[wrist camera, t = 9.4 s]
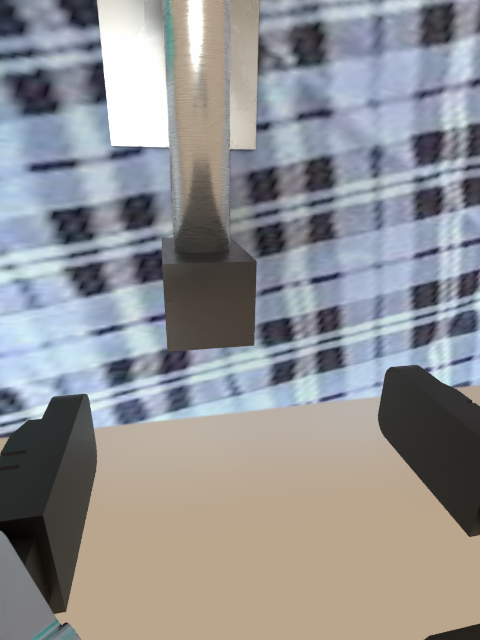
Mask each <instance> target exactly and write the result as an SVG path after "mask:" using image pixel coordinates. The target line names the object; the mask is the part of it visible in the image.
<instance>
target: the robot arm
mask: <svg viewBox="0 0 480 640" xmlns="http://www.w3.org/2000/svg"><path fill="white" fill-rule="evenodd" d="M378 421H379V426H380V429H381V431H382V433H383V435H384V437H385V438H386V439H387V440H388V441H389V443H390V444H391V445H392V446H393V447H394V448H395V449H396V451H397V452H398V453H399V454H400V456H401V457H402V458H403V459H404V460H405V462H406V463H407V464H408V465H409V466H410V467H411V469H412V470H413V471H414V472H415V473H416V474H417V475H418V477H419V478H420V479H421V480H422V482H423V483H424V484H425V485H426V486H427V487H428V489H429V490H430V491H431V492H432V493H433V495H434V496H435V497H436V498H437V499H438V500H439V502H441V504H442V505H443V506H444V507H445V509H446V510H447V511H448V512H449V513H450V515H451V516H452V517H453V518H454V519H455V520H456V522H457V523H458V524H459V525H460V526H461V528H462V529H463V530H464V531H465V532H466V533H467V535H468V536H469V537H472V536H477V535H480V406H478V405H477V404H476V403H472V400H470V399H469V398H468V397H466V396H465V395H464V394H462V393H461V392H459V391H458V390H457V389H454V388H452V387H450V386H448V385H446V384H444V383H442V382H440V381H439V380H438V379H436V378H435V377H434V376H432V375H431V374H430V373H428V372H427V371H425V370H424V369H423V368H421V367H420V366H418V365H409V366H398V367H390V368H389V369H388V370H387V371H386V374H385V378H384V384H383V390H382V395H381V401H380V407H379V413H378ZM0 454H1V455H0V640H81V638H80V637H79V636H78V634H77V633H76V631H75V630H74V629H73V627H72V626H71V625H70V624H68V623H64V624H63V625H61V624H60V623H59V621H58V620H57V618H56V617H55V615H54V614H56V613H61V612H66V609H67V604H68V600H69V595H70V590H71V586H72V581H73V576H74V571H75V567H76V562H77V558H78V552H79V548H80V543H81V539H82V534H83V529H84V525H85V519H86V515H87V511H88V506H89V501H90V496H91V491H92V487H93V482H94V478H95V473H96V465H97V449H96V442H95V434H94V428H93V421H92V415H91V408H90V402H89V398H88V396H87V394H78V395H67V396H55V397H53V398H52V399H51V401H50V403H49V405H48V407H47V409H46V411H45V413H44V415H43V417H42V419H37V420H28V421H27V422H26V423H25V424H23V425H22V426H21V427H20V428H19V429H18V430H16V431H15V432H14V433H13V434H12V435H11V436H10V437H9V439H8V441H7V443H6V444H5V446H4V448H3V450H2V451H1V453H0ZM425 640H480V624H477V625H472V626H468V627H464V628H460V629H456V630H452V631H448V632H443V633H439V634H435V635H431V636H429V637H427V638H426V639H425Z"/></svg>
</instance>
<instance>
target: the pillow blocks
mask: <svg viewBox="0 0 480 640" xmlns="http://www.w3.org/2000/svg"><path fill="white" fill-rule="evenodd" d="M97 5H98V15H99V25H100V35H101V45H102V55H103V65H104V75H105V85H106V95H107V105H108V115H109V125H110V135H111V145H112V146H113V147H151V148H169V134H168V114H167V94H166V74H165V54H164V33H163V13H162V0H97ZM258 32H259V0H230V150H255V149H256V111H257V72H258Z"/></svg>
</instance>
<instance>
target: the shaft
mask: <svg viewBox="0 0 480 640" xmlns="http://www.w3.org/2000/svg"><path fill="white" fill-rule="evenodd" d="M162 13H163V33H164V54H165V74H166V94H167V114H168V134H169V154H170V174H171V194H172V214H173V234H174V238H162V268H163V284H164V300H165V316H166V332H167V348H168V352H170V351H183V350H197V349H211V348H225V347H239V346H253V345H254V332H255V297H256V263H257V261H256V260H254V259H253V258H252V257H251V256H250V255H249V254H248V253H247V252H246V251H245V250H244V249H242V248H241V247H240V246H239V245H238V244H237V243H236V242H235V241H234V240H233V239H232V238H230V0H162Z"/></svg>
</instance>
